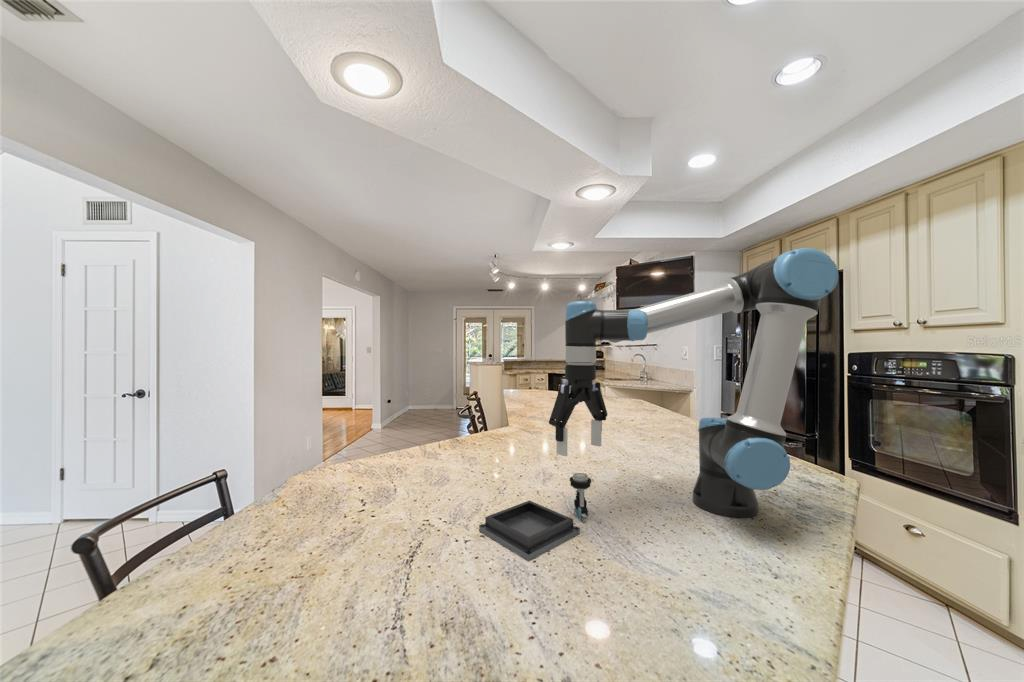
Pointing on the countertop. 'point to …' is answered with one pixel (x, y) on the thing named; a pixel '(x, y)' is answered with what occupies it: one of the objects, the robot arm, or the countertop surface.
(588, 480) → the push button
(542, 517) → the grey metal square tray
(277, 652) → the countertop surface
